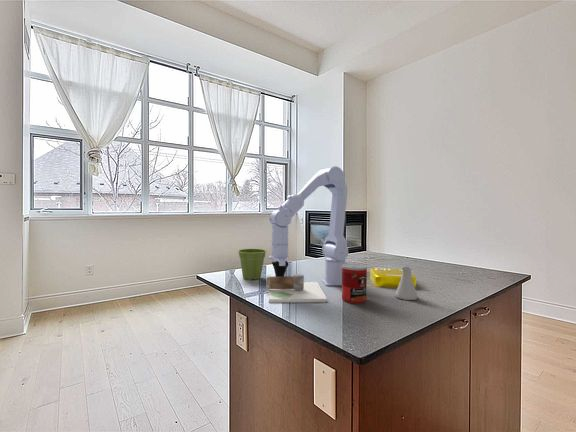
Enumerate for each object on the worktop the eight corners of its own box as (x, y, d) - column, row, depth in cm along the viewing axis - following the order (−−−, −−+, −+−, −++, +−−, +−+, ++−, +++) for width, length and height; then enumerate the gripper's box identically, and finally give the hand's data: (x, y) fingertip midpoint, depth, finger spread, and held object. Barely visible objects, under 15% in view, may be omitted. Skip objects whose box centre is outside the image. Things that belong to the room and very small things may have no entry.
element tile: (375, 287, 112) (375, 275, 112) (369, 278, 127) (369, 266, 127) (417, 289, 111) (417, 276, 110) (406, 279, 126) (406, 267, 125)
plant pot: (265, 281, 118) (265, 253, 117) (234, 281, 118) (234, 252, 118) (267, 274, 130) (268, 248, 129) (240, 274, 130) (240, 248, 129)
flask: (417, 295, 102) (418, 265, 102) (418, 302, 95) (419, 270, 95) (394, 293, 104) (395, 264, 104) (394, 299, 98) (395, 268, 97)
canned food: (352, 305, 92) (353, 269, 91) (336, 297, 99) (336, 264, 98) (371, 301, 95) (372, 266, 95) (354, 294, 102) (355, 262, 102)
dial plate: (317, 284, 114) (317, 281, 114) (326, 302, 94) (326, 298, 94) (269, 285, 113) (269, 281, 113) (268, 302, 93) (268, 298, 93)
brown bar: (303, 286, 106) (303, 274, 106) (304, 289, 102) (304, 276, 102) (266, 287, 105) (266, 274, 105) (266, 290, 101) (266, 277, 101)
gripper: (267, 241, 114) (266, 277, 114) (270, 247, 99) (270, 288, 100) (285, 241, 115) (285, 276, 115) (291, 246, 100) (291, 287, 101)
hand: (279, 282), depth 108 cm, fingers closed
